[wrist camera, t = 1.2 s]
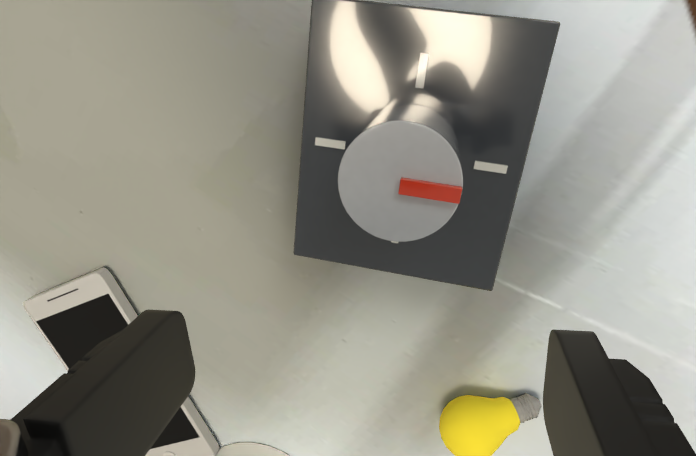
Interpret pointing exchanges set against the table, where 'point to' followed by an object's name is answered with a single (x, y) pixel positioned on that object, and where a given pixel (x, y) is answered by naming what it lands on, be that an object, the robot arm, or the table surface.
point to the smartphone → (97, 325)
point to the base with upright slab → (249, 450)
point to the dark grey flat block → (432, 92)
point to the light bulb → (483, 422)
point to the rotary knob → (402, 174)
